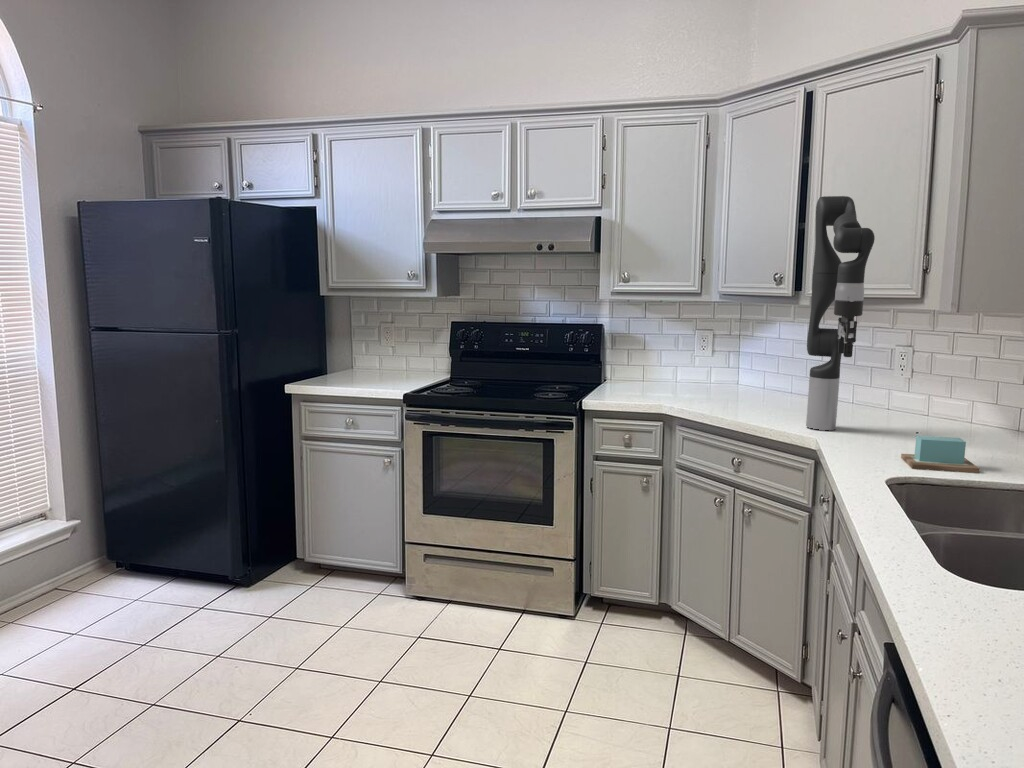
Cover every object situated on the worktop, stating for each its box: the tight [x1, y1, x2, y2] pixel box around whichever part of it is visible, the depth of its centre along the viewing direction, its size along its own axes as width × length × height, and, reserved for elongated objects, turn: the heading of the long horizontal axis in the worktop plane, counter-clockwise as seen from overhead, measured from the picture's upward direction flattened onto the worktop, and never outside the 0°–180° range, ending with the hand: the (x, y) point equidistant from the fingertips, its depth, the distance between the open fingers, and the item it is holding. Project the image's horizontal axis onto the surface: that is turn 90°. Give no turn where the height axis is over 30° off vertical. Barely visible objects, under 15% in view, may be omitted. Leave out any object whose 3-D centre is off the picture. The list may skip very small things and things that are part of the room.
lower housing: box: [914, 435, 967, 464], centre depth 206 cm, size 5×11×6 cm, turn 76°
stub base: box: [900, 453, 980, 474], centre depth 206 cm, size 12×16×4 cm
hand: (844, 355), depth 220 cm, fingers open, 8 cm apart
